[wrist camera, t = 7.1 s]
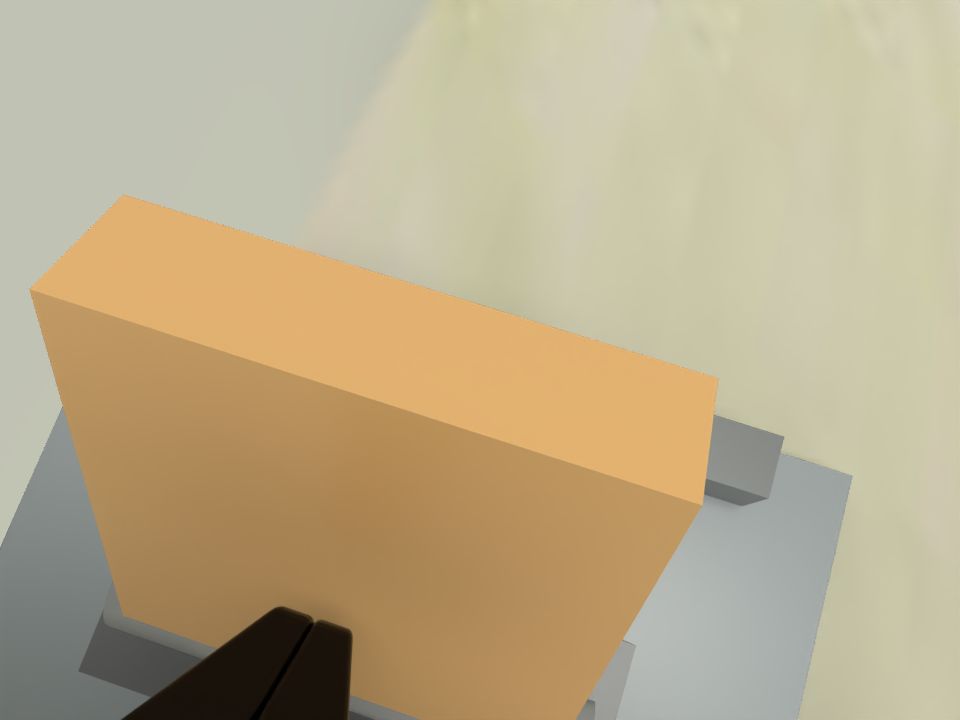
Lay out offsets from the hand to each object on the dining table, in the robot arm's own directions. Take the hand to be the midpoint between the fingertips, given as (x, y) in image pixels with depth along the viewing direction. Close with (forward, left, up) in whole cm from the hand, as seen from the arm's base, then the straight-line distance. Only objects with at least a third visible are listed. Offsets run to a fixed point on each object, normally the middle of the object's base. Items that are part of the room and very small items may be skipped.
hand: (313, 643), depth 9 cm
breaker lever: (0, 0, -4) cm, 4 cm away
